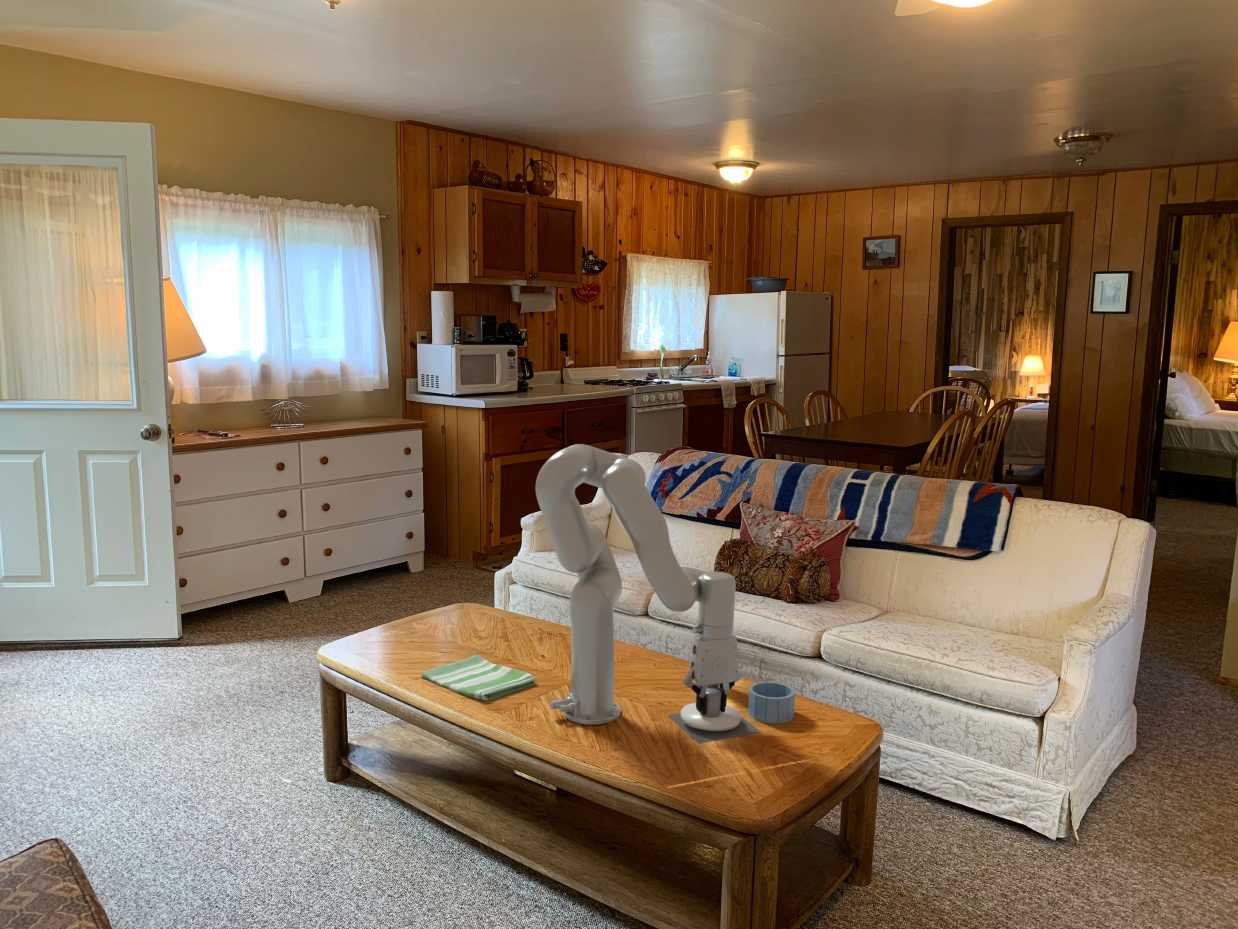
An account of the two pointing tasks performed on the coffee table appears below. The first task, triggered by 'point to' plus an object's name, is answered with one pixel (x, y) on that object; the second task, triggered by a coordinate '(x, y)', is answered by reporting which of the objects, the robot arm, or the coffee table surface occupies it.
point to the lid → (711, 714)
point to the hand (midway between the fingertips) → (710, 710)
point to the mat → (708, 736)
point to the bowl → (771, 702)
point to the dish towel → (479, 678)
